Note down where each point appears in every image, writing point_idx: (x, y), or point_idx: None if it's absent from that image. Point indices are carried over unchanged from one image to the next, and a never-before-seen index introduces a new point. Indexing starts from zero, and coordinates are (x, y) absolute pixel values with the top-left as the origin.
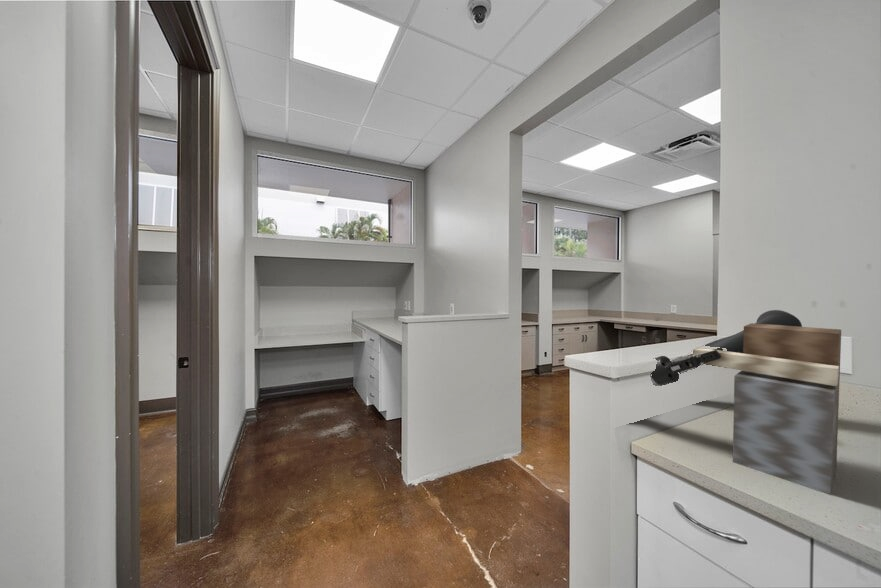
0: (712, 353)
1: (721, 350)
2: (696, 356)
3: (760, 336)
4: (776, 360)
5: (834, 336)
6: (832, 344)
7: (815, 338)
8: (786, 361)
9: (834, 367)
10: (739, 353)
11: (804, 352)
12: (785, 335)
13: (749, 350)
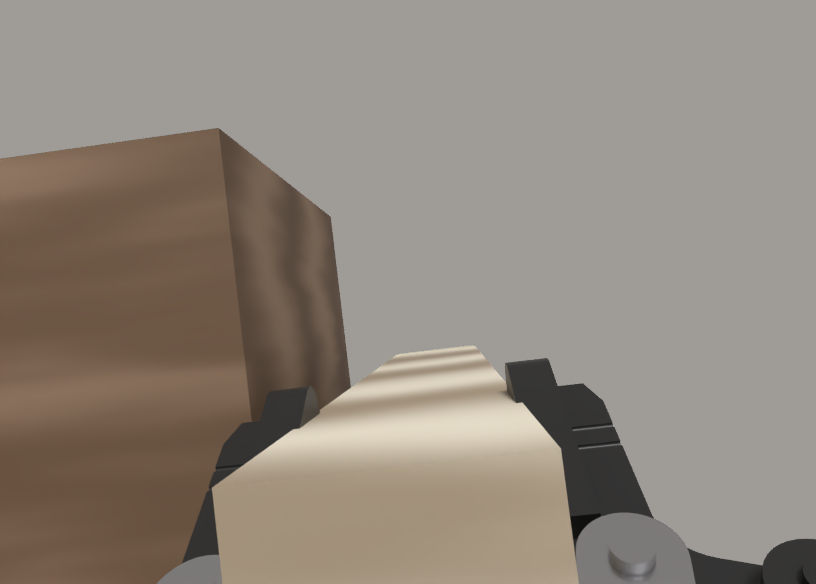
0: (591, 399)
1: (318, 413)
2: (683, 550)
3: (262, 234)
4: (474, 357)
5: (330, 229)
6: (333, 269)
7: (320, 241)
8: (458, 356)
9: (441, 349)
10: (379, 387)
11: (323, 325)
12: (293, 225)
13: (258, 376)
